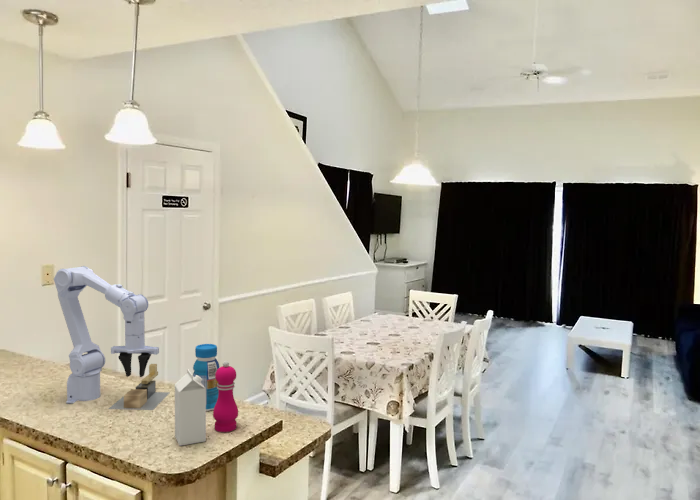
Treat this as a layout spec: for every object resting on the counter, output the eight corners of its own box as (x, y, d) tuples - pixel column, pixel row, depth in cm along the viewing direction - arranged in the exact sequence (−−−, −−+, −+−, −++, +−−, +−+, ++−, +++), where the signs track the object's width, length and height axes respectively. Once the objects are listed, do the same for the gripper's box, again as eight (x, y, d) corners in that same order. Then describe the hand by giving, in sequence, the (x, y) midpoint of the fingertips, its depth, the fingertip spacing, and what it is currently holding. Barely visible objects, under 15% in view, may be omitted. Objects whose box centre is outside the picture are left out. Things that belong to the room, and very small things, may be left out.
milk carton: (179, 446, 146) (179, 377, 145) (174, 436, 152) (174, 370, 151) (206, 441, 149) (205, 374, 148) (200, 432, 156) (200, 367, 154)
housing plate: (108, 412, 169) (107, 396, 169) (129, 394, 185) (129, 379, 184) (152, 413, 169) (152, 397, 168) (170, 395, 185) (170, 380, 184)
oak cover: (123, 408, 170) (123, 395, 170) (131, 401, 176) (131, 389, 176) (139, 408, 170) (139, 395, 170) (147, 401, 176) (146, 389, 175)
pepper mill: (225, 435, 154) (225, 366, 152) (207, 429, 158) (207, 361, 156) (243, 426, 160) (243, 360, 158) (225, 421, 164) (225, 356, 162)
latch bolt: (141, 384, 180) (141, 371, 179) (152, 374, 190) (152, 362, 189) (147, 384, 180) (147, 371, 179) (158, 374, 190) (158, 363, 189)
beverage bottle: (190, 412, 170) (190, 349, 169) (195, 402, 179) (195, 342, 177) (217, 411, 171) (217, 349, 169) (221, 402, 179) (221, 342, 178)
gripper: (106, 336, 167) (106, 379, 168) (153, 337, 167) (153, 380, 168) (116, 330, 174) (116, 372, 175) (161, 331, 174) (161, 373, 175)
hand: (135, 375), depth 172 cm, fingers open, 4 cm apart
